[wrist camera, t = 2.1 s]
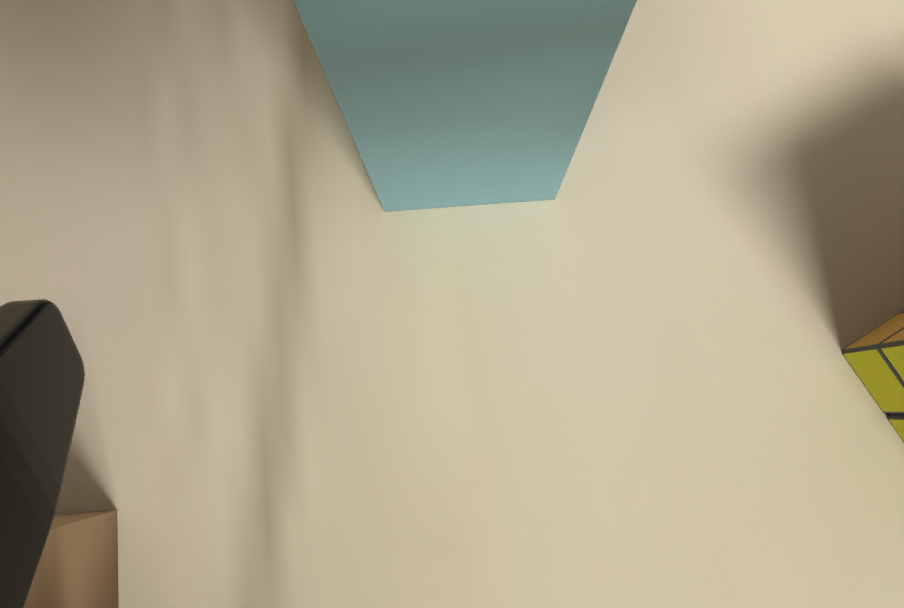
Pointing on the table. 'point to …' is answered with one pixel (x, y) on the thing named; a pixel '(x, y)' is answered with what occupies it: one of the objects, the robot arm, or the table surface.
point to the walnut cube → (78, 563)
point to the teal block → (465, 91)
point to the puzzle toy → (882, 367)
